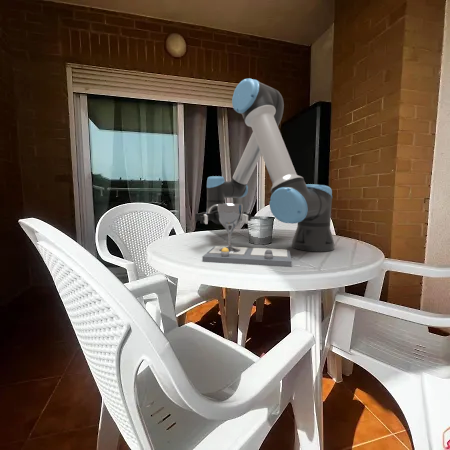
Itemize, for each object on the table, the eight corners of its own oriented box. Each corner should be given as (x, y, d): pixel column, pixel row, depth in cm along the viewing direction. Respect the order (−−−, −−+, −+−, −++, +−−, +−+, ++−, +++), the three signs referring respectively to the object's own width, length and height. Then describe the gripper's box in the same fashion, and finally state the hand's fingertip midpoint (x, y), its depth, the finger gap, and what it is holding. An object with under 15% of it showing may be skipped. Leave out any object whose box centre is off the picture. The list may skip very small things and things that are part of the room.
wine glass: (216, 252, 84) (216, 204, 82) (218, 247, 92) (218, 203, 90) (242, 252, 84) (242, 204, 82) (241, 247, 92) (242, 203, 90)
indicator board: (289, 254, 90) (289, 242, 90) (291, 266, 76) (291, 252, 75) (214, 250, 95) (214, 239, 95) (202, 261, 81) (202, 248, 80)
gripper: (247, 222, 112) (263, 230, 92) (187, 223, 108) (189, 231, 88) (248, 204, 112) (263, 208, 91) (187, 205, 108) (188, 208, 87)
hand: (227, 219), depth 89 cm, fingers open, 13 cm apart
